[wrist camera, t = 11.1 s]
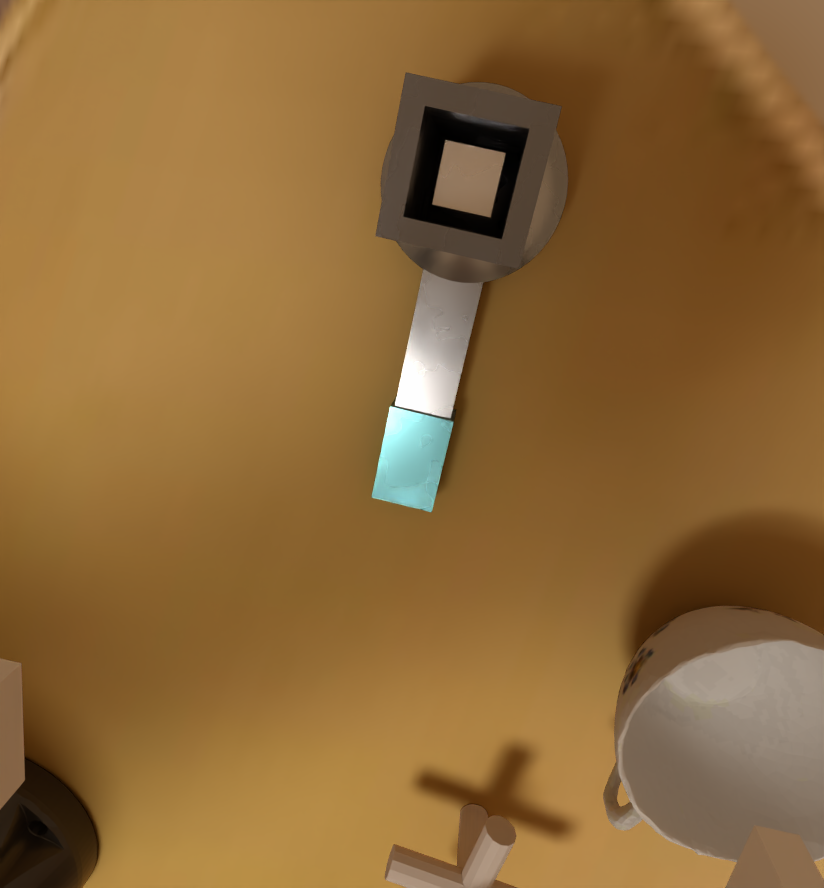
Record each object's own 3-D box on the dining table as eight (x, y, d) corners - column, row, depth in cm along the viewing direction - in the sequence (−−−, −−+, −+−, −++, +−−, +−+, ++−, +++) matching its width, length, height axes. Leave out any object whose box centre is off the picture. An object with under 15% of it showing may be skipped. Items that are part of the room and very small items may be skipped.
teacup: (725, 509, 33) (793, 592, 25) (880, 659, 34) (987, 778, 27) (517, 672, 38) (522, 782, 30) (661, 797, 39) (700, 931, 32)
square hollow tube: (428, 111, 27) (405, 72, 20) (545, 137, 26) (561, 106, 20) (403, 234, 28) (375, 235, 22) (513, 260, 28) (518, 269, 21)
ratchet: (336, 471, 35) (299, 526, 28) (408, 77, 28) (382, 31, 22) (478, 505, 35) (474, 570, 28) (584, 114, 28) (611, 79, 21)
